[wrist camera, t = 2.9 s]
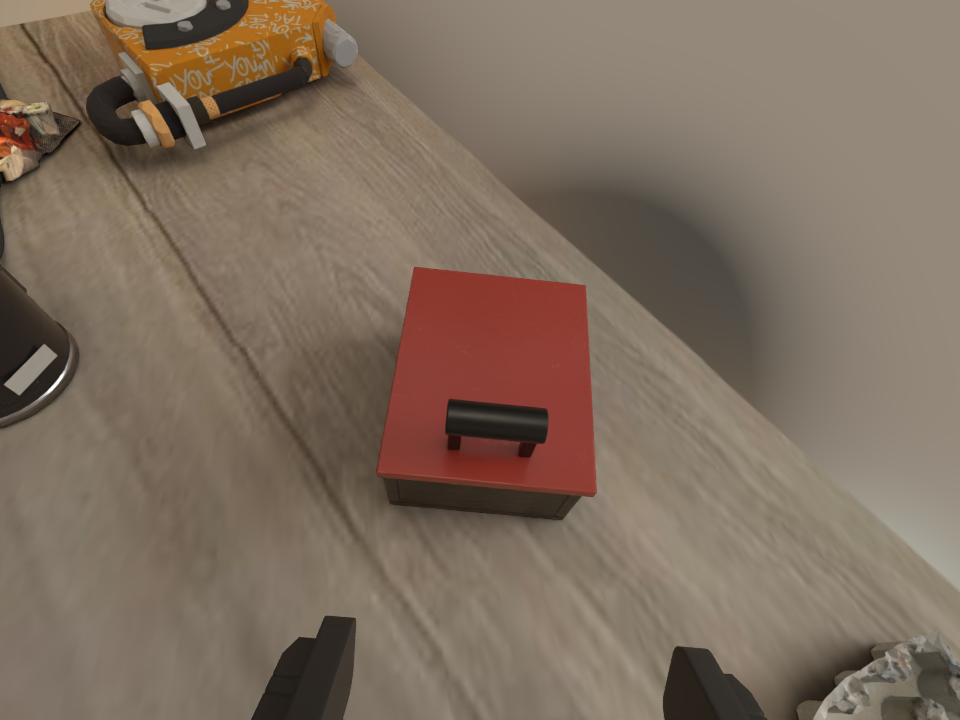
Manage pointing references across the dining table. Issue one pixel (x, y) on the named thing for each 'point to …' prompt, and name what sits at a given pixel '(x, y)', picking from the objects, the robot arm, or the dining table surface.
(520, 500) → the black open box
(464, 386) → the lid
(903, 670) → the egg carton
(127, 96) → the device
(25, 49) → the dining table surface
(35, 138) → the food
